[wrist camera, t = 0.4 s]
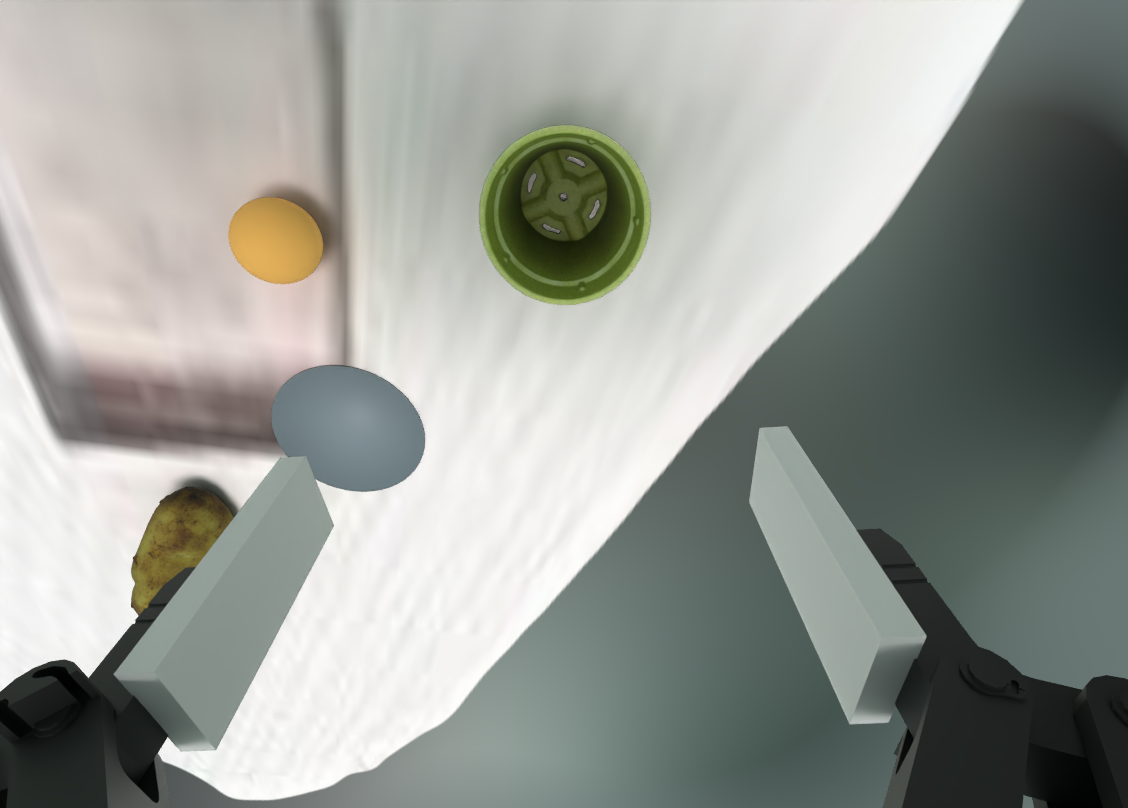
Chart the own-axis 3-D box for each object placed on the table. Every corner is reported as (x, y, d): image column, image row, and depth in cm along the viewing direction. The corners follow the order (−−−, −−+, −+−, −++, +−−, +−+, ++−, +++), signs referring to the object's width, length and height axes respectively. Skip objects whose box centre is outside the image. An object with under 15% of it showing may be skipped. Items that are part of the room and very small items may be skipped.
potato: (275, 507, 50) (229, 572, 43) (232, 582, 56) (185, 652, 49) (186, 467, 48) (122, 529, 41) (150, 550, 53) (88, 617, 46)
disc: (241, 387, 44) (240, 388, 43) (384, 347, 42) (384, 348, 42) (320, 502, 50) (319, 504, 50) (447, 472, 48) (447, 474, 48)
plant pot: (655, 150, 35) (681, 165, 27) (602, 282, 39) (611, 326, 32) (520, 94, 33) (507, 94, 26) (481, 238, 37) (460, 274, 30)
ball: (239, 204, 36) (190, 220, 32) (310, 180, 35) (271, 193, 31) (282, 279, 39) (243, 304, 34) (349, 259, 38) (318, 282, 33)
